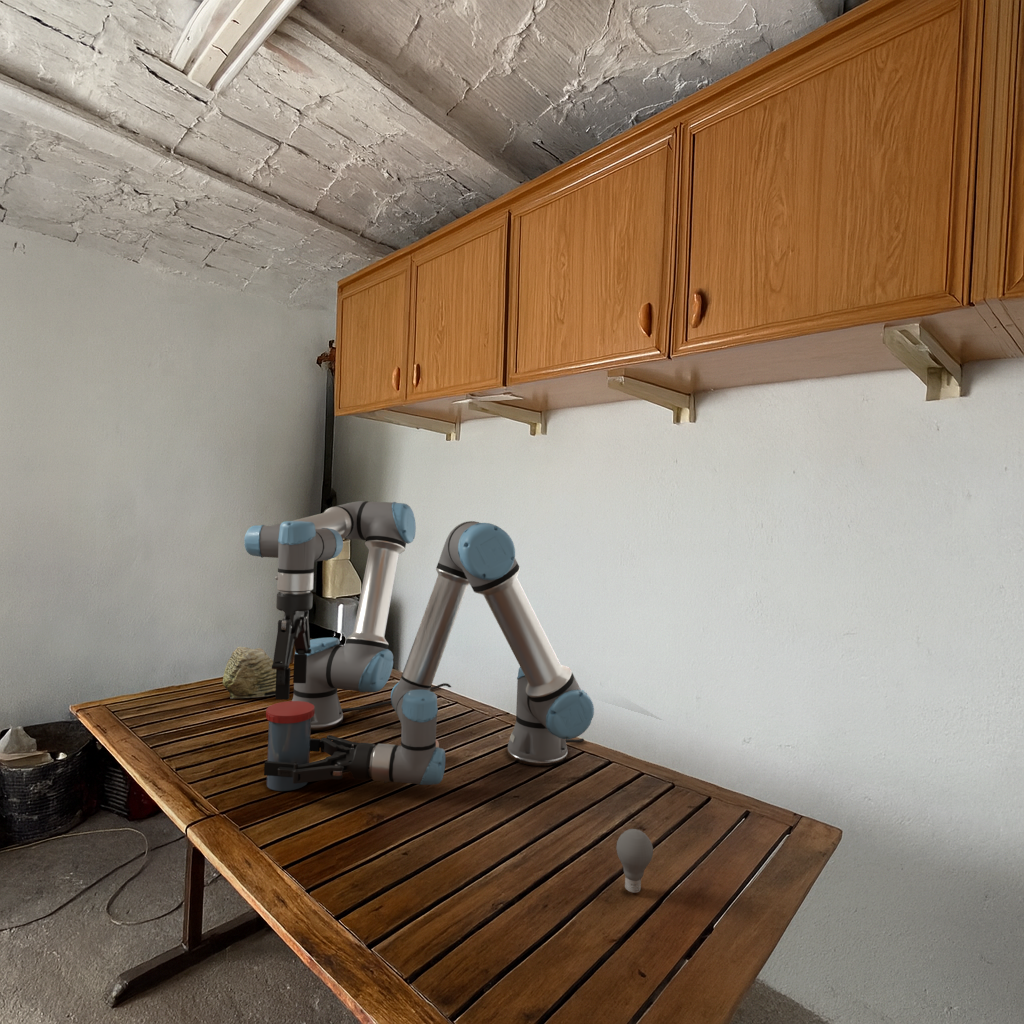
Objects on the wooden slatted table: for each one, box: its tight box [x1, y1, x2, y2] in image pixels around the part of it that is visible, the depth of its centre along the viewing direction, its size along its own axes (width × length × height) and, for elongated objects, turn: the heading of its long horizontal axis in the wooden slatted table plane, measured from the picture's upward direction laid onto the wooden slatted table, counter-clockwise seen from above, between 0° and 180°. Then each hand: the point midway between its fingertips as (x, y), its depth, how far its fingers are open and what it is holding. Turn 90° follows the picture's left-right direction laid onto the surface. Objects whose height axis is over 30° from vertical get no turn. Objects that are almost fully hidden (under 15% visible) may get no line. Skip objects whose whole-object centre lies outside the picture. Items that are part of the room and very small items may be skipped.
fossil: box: [222, 646, 276, 699], centre depth 198 cm, size 9×18×15 cm, turn 132°
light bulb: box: [615, 828, 654, 894], centre depth 106 cm, size 6×6×10 cm
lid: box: [265, 700, 315, 723], centre depth 140 cm, size 10×10×2 cm
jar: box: [265, 718, 312, 792], centre depth 140 cm, size 9×9×16 cm
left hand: (291, 690), depth 140 cm, fingers open, 11 cm apart
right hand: (278, 755), depth 140 cm, fingers open, 13 cm apart
